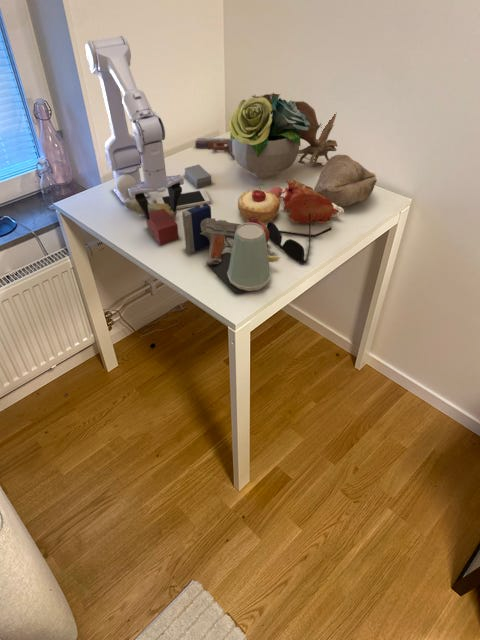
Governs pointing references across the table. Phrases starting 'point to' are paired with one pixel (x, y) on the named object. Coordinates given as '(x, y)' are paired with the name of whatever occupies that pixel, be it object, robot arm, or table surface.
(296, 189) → the seashell
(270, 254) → the toy
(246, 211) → the pastry
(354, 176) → the seashell
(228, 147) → the handgun
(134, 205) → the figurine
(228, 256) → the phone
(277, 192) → the figurine
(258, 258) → the disposable coffee cup
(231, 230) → the pistol
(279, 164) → the flower arrangement
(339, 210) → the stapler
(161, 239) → the oxblood stack
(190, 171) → the grey stack
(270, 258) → the fox
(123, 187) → the light bulb
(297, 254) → the sunglasses
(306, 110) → the dragon
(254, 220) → the fruit
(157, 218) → the oxblood book
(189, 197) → the smartphone
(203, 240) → the cassette player
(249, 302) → the table surface
